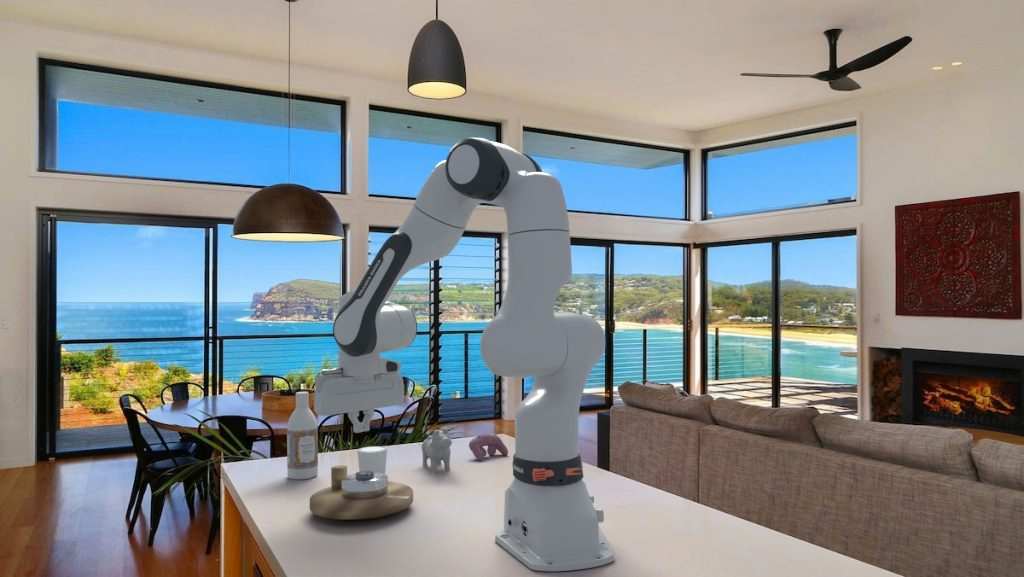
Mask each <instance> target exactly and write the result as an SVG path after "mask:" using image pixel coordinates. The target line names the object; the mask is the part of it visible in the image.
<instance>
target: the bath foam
mask: <svg viewBox="0 0 1024 577" xmlns="http://www.w3.org/2000/svg"><path fill="white" fill-rule="evenodd" d="M309 398H310V397H309V392H308V391H298V392H295V408H294V410H293V412H292V413H291V415H290V417H289V418H288V422H287V428H286V445H287V446H286V448H287V449H286V450H287V451H286V452H287V453H286V455H287V457H286V458H287V459H286V460H287V461H286V463H287V466H286V468H287V478H288V479H290V480H295V481H297V480H298V481H301V480H309V479H313V478H316V477H317V476H318V473H319V447H318V445H319V443H318V442H319V441H318V440H319V439H318V438H319V437H318V436H319V434H318V432H319V431H318V429H319V428H318V422H317V418H316V416H315V415H314V412H313V411H312V410H311V409H310V407H309V404H310V403H309V402H310V401H309Z"/></svg>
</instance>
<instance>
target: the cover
mask: <svg viewBox="0 0 1024 577" xmlns="http://www.w3.org/2000/svg"><path fill="white" fill-rule="evenodd" d="M388 482H389V480H388V475H387V473H385V474H383V473H376V472H373V471H360V472H359V471H357V472H356V473H351V474H347V476H345V477H344V478H342V497H344V498H346V499H351V500H367V499H374V498H378V497H381V496H384V495H386V494H387V493H388Z"/></svg>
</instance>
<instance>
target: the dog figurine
mask: <svg viewBox="0 0 1024 577" xmlns="http://www.w3.org/2000/svg"><path fill="white" fill-rule="evenodd" d="M452 443H453V441H452V440H451V438H450V434H449V429H448V427H445V428H444V427H443V428H442V429H435V430H433V431H432V435H428V436H427V437H426V439H424V440H423V442H422V443H421V452H422V467H423V468H428V467H429V465H428V459H429V460H430V473H431V474H435V473H436V472H437V466H442V461H443V464H444V467H443V468H444V471H445V472H450V471H451V467H450V462H451V461H450V460H451V452H452V451H451V446H452Z"/></svg>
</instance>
